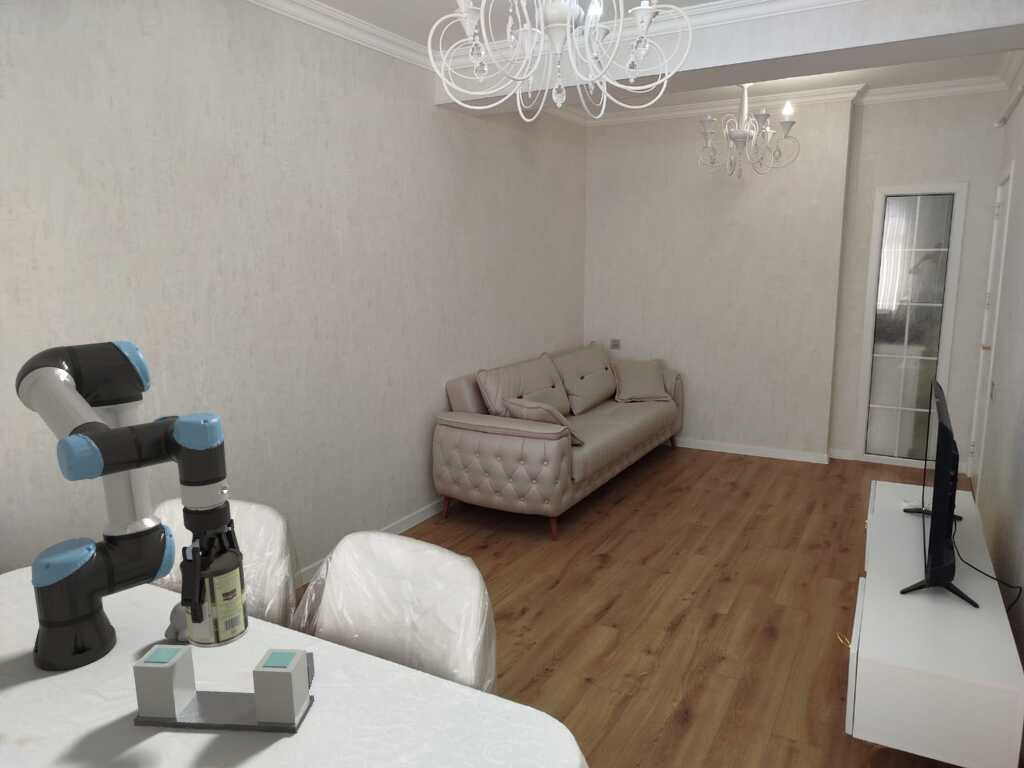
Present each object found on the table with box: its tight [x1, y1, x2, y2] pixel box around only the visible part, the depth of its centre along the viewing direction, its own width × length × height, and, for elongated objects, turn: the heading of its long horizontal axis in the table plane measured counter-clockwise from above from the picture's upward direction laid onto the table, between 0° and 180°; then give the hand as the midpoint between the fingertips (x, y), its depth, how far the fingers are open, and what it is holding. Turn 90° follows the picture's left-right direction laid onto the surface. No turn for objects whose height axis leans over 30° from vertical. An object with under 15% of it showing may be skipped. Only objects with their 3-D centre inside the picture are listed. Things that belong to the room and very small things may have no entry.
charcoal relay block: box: [306, 651, 316, 690], centre depth 140 cm, size 5×5×5 cm
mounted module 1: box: [132, 644, 197, 718], centre depth 131 cm, size 7×7×10 cm
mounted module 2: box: [252, 648, 310, 723], centre depth 129 cm, size 7×7×10 cm
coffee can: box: [179, 548, 250, 649], centre depth 127 cm, size 10×10×14 cm
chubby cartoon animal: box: [164, 601, 189, 642], centre depth 158 cm, size 7×12×8 cm, turn 158°
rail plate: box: [132, 690, 315, 734], centre depth 131 cm, size 30×9×1 cm, turn 85°
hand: (217, 621), depth 127 cm, fingers closed on coffee can, 10 cm apart
